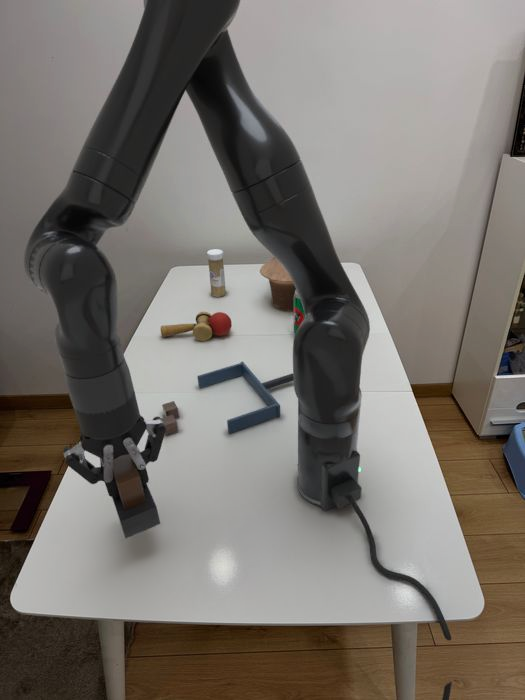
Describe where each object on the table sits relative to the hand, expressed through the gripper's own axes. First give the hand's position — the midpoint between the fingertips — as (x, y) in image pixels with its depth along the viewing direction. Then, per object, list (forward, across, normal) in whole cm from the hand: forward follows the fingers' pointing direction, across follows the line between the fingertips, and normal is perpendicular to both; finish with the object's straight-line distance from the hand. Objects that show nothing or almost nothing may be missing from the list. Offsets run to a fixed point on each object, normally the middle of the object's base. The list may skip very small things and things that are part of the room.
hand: (129, 488), depth 70 cm
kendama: (+10, +29, +52) cm, 61 cm away
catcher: (+10, +31, +22) cm, 39 cm away
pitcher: (+10, +59, +56) cm, 82 cm away
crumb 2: (+10, +11, +21) cm, 25 cm away
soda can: (+10, +53, +39) cm, 66 cm away
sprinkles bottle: (+9, +43, +72) cm, 85 cm away
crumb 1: (+10, +13, +25) cm, 29 cm away
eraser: (+4, 0, 0) cm, 4 cm away
